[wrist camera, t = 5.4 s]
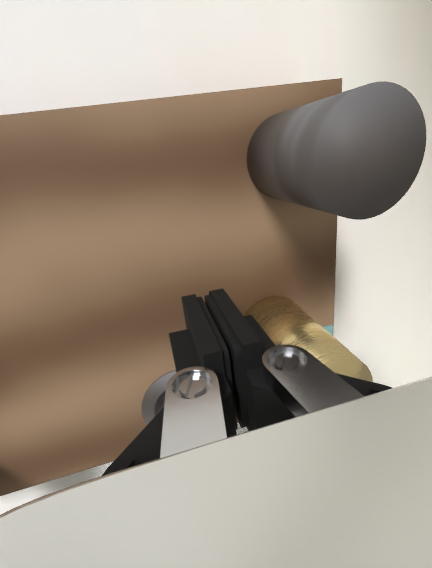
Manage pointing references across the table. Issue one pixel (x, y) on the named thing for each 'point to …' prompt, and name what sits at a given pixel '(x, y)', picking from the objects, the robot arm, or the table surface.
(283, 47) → the table surface
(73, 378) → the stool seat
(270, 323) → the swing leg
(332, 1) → the table surface
